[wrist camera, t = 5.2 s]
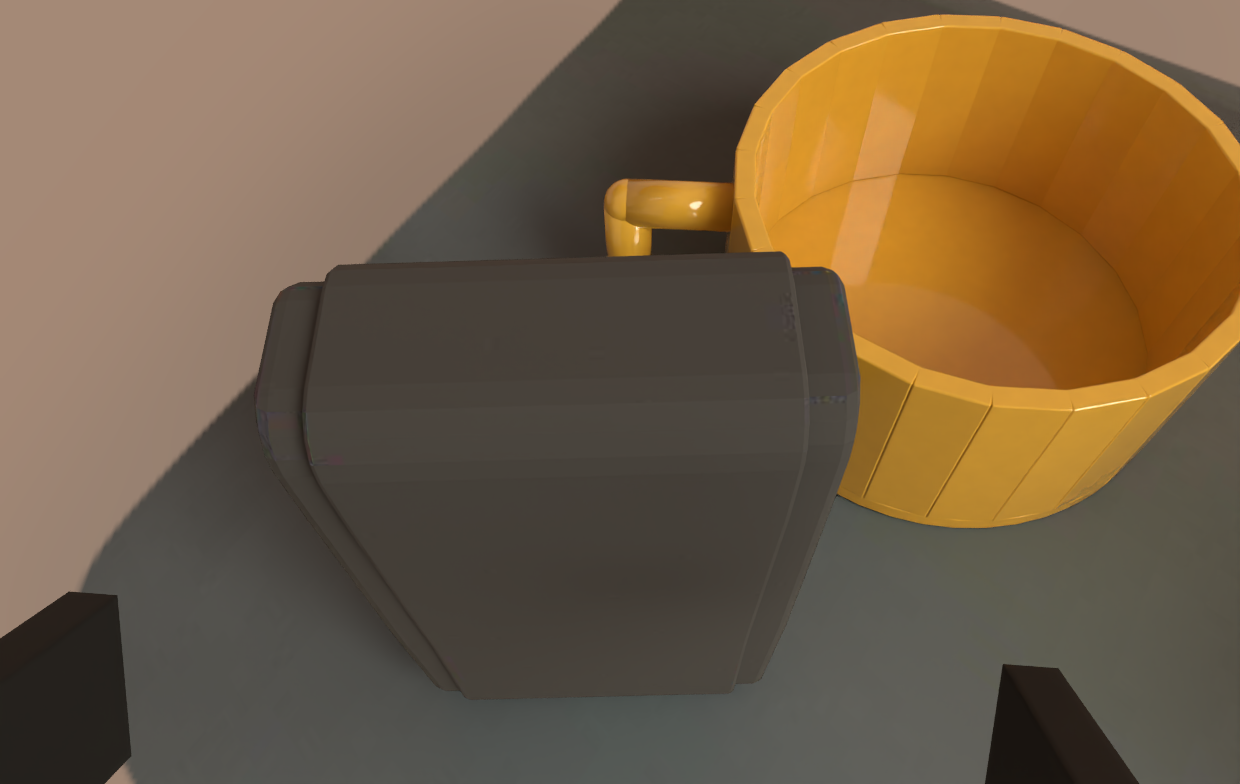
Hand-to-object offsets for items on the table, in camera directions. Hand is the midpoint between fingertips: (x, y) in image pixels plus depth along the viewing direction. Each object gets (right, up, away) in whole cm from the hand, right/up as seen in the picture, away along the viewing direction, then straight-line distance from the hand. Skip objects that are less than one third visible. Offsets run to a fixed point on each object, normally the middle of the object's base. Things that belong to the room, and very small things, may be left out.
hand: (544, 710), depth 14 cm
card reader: (+1, -2, +13) cm, 13 cm away
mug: (+10, +7, +18) cm, 22 cm away
